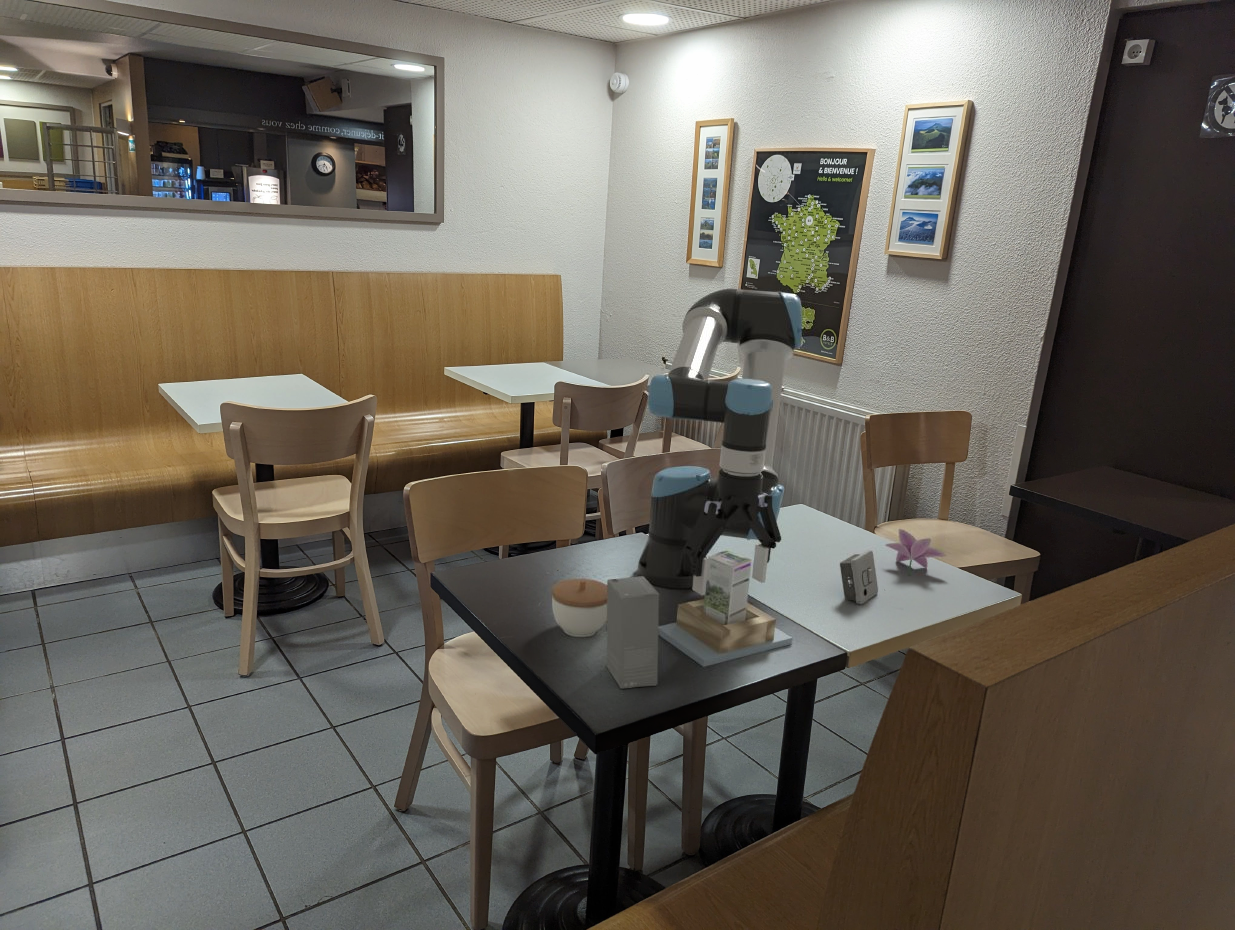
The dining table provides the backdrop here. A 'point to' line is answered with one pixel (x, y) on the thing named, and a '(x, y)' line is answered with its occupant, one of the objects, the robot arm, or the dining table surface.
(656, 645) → the skincare box
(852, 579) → the electrical switch
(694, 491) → the robot arm
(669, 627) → the socket holder
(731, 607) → the syrup box
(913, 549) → the lily
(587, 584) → the lidded jar
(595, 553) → the dining table surface
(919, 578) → the dining table surface
